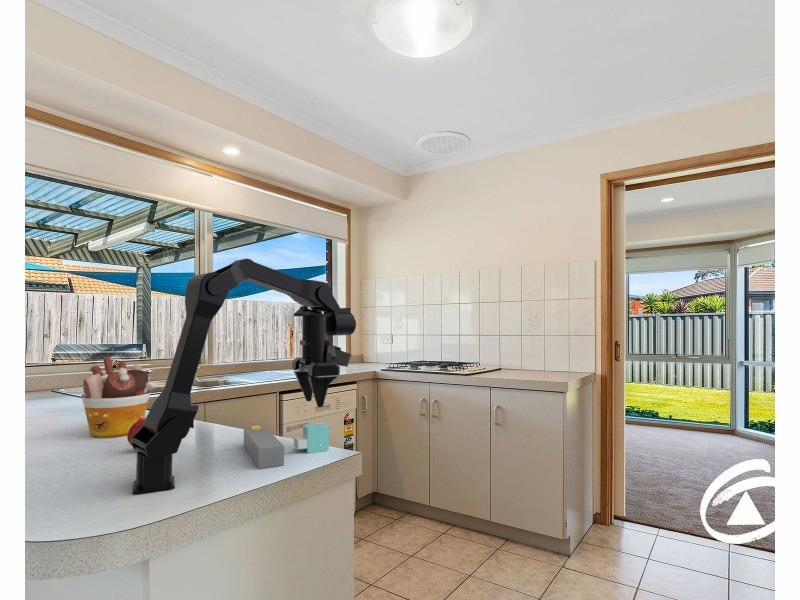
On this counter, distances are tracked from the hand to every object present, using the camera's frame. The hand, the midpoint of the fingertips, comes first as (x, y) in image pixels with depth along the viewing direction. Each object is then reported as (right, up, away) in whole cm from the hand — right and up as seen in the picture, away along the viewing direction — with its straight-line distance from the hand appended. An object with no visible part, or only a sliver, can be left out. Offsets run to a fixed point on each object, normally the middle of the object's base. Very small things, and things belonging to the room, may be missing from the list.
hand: (314, 403), depth 109 cm
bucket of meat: (-56, -12, +17) cm, 60 cm away
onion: (-39, -11, -1) cm, 41 cm away
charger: (-1, -10, -1) cm, 11 cm away
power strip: (-12, -10, -3) cm, 16 cm away
